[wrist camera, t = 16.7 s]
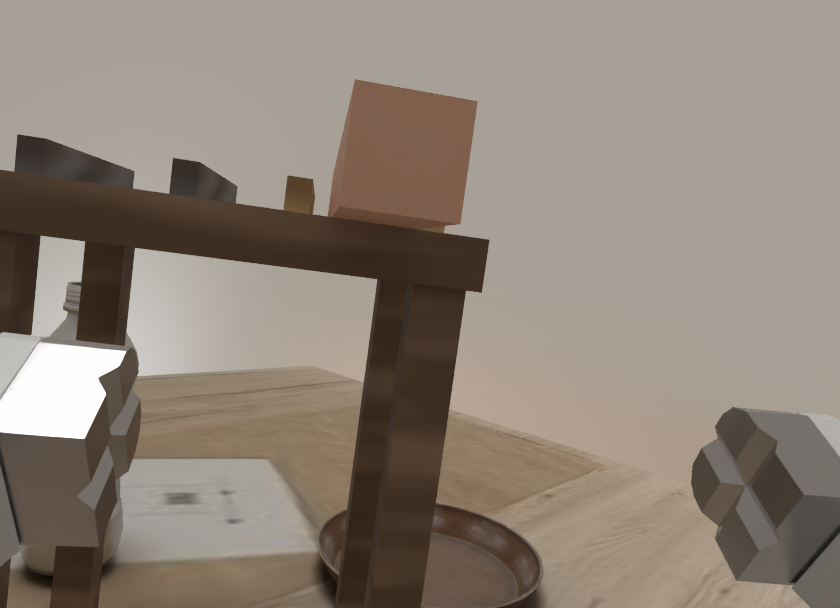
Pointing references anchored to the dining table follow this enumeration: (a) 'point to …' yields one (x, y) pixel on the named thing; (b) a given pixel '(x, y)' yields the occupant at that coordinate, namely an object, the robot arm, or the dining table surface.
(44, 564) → the plastic bottle
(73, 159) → the walnut stool
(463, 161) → the terracotta bar
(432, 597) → the plant saucer
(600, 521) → the dining table surface
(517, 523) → the dining table surface
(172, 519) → the dining table surface
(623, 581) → the dining table surface
